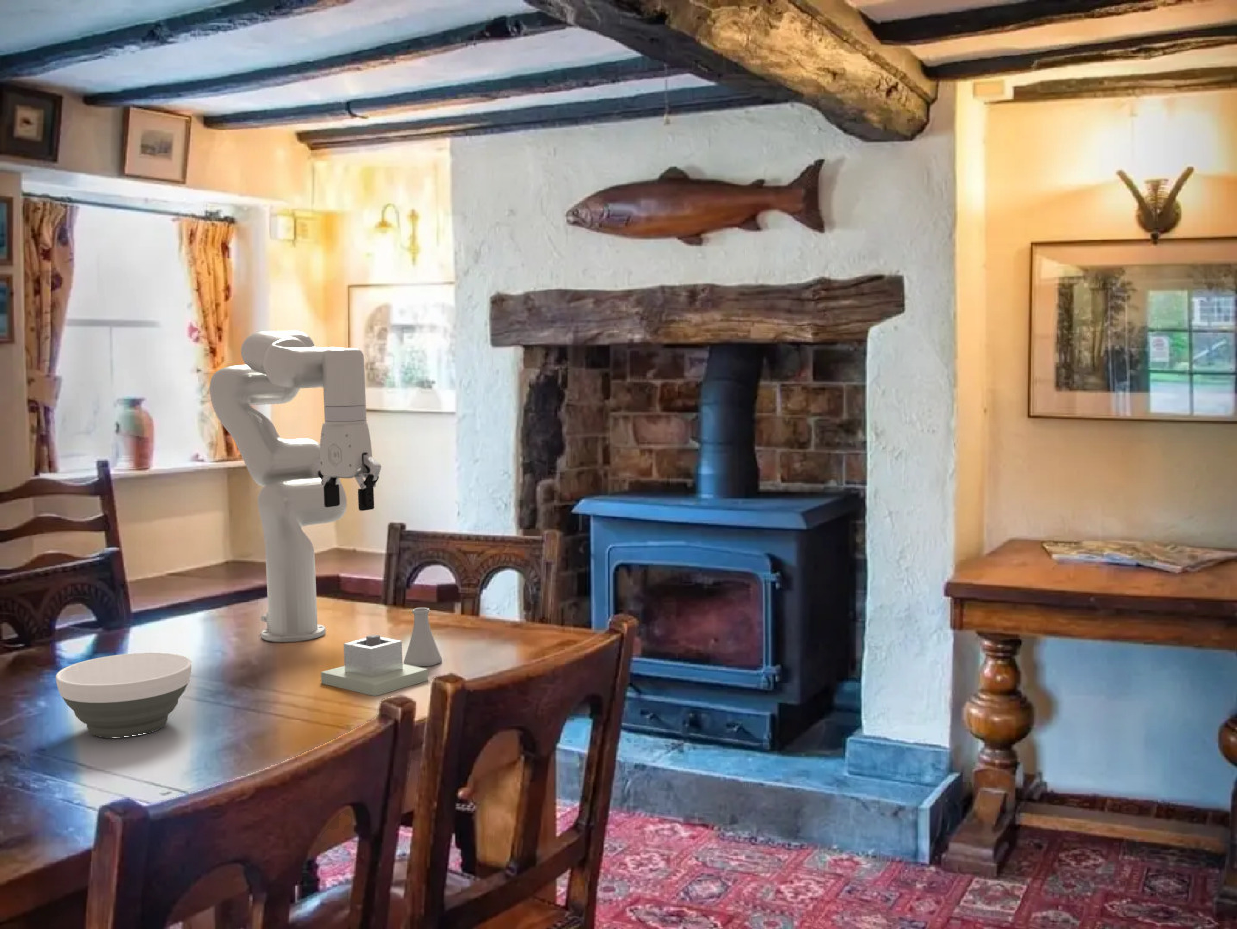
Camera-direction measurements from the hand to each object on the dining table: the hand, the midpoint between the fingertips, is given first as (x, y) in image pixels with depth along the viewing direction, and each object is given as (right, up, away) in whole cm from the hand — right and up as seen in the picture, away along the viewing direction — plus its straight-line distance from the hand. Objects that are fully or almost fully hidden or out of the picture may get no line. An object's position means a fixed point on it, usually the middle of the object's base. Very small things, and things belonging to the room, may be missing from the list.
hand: (349, 508), depth 236 cm
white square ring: (+7, -28, -14) cm, 32 cm away
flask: (+14, -29, -1) cm, 32 cm away
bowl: (-26, -33, -38) cm, 57 cm away
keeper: (+7, -30, -14) cm, 34 cm away
